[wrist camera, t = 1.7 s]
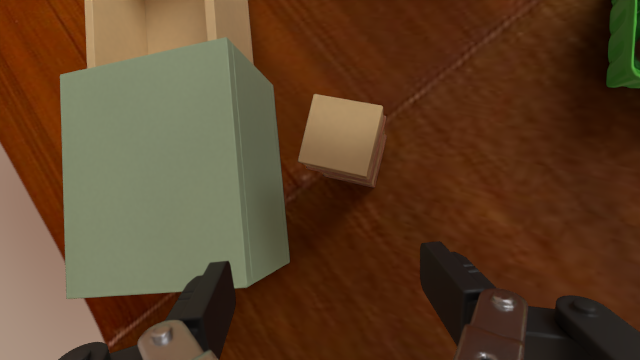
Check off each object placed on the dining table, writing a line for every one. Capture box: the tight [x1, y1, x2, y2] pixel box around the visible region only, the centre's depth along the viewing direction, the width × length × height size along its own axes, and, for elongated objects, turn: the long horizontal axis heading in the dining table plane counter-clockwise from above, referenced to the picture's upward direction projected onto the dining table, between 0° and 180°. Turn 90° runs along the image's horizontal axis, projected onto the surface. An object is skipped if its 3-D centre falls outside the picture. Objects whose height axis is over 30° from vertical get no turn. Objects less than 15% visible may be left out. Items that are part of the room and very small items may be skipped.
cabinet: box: [60, 37, 290, 299], centre depth 29 cm, size 18×15×10 cm
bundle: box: [298, 94, 387, 188], centre depth 25 cm, size 4×4×12 cm
